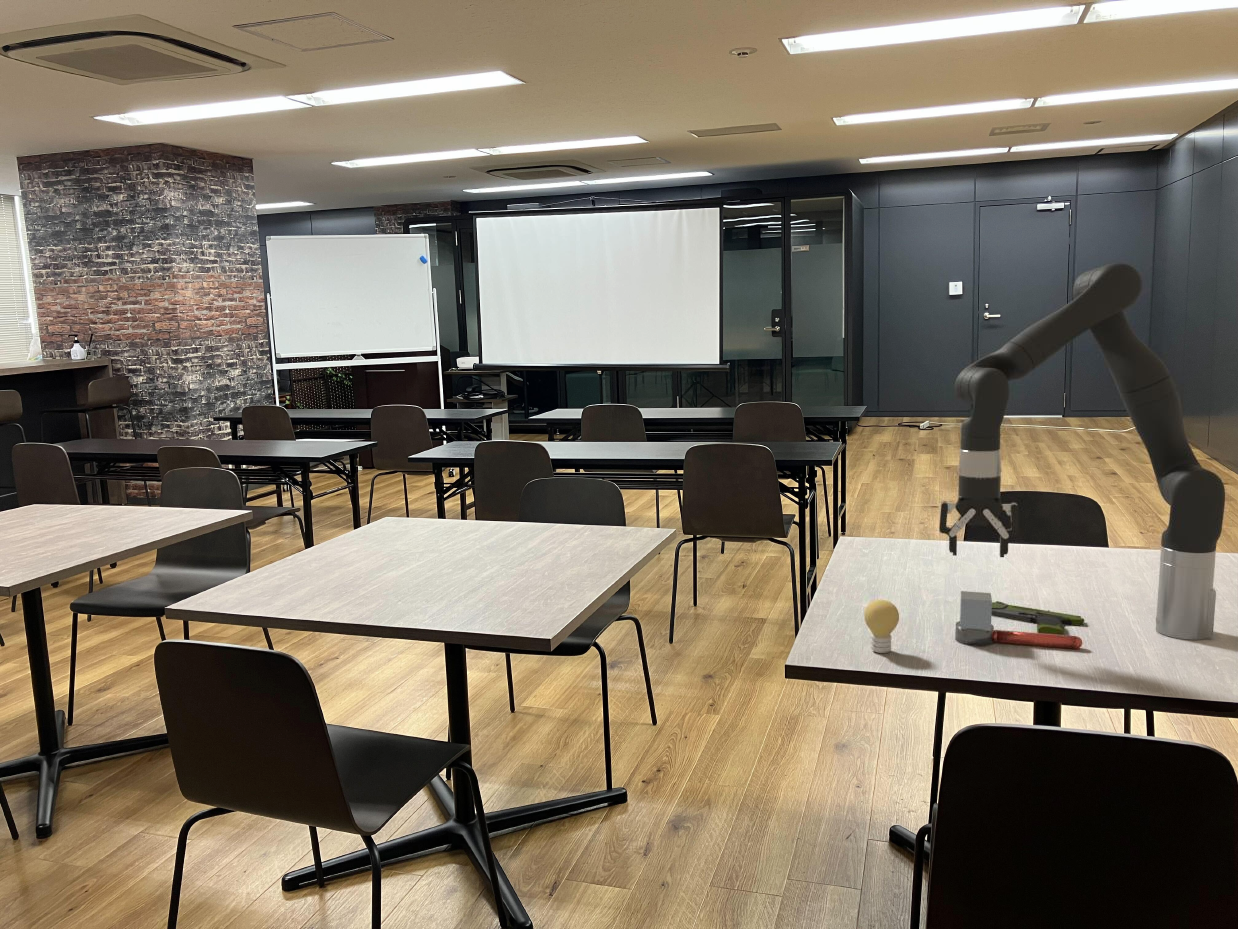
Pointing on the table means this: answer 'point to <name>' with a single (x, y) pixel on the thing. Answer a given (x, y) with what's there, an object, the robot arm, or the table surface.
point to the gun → (1037, 617)
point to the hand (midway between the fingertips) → (977, 555)
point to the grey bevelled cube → (975, 611)
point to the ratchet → (1014, 638)
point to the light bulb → (881, 624)
